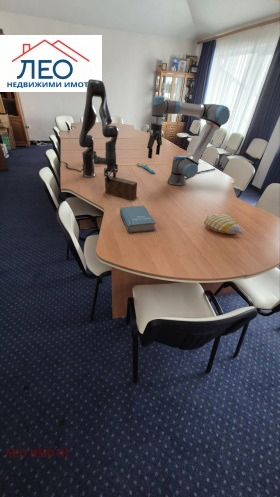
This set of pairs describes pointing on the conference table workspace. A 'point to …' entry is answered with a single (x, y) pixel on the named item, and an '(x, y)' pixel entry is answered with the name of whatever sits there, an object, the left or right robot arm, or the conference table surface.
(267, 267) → the conference table surface
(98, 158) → the laser sight
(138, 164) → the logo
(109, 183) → the box
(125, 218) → the book
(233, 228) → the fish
